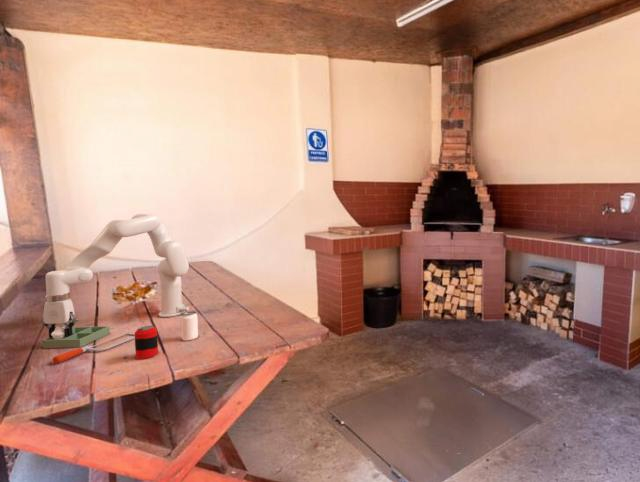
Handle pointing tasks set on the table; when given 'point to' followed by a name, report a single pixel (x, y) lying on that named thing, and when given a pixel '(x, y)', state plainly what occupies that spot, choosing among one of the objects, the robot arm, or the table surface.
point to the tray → (77, 337)
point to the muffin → (59, 332)
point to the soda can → (146, 342)
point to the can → (189, 326)
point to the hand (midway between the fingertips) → (61, 335)
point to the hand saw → (84, 349)
